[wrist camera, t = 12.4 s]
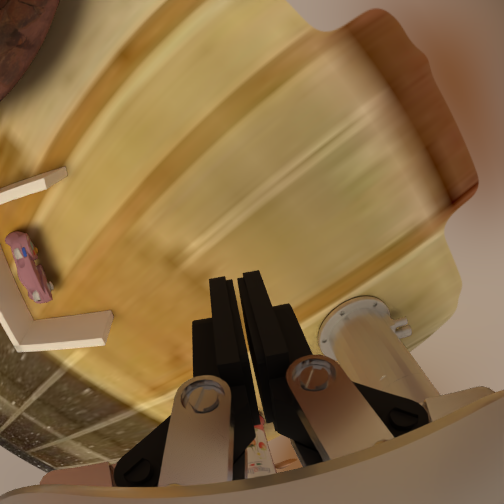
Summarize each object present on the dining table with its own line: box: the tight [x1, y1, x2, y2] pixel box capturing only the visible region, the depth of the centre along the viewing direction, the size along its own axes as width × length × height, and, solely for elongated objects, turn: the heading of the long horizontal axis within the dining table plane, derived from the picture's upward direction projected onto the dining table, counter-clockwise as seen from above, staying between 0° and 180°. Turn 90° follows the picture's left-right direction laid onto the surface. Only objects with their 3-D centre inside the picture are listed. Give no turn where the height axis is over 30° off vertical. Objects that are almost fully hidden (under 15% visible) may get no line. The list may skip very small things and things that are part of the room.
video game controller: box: [5, 231, 54, 303], centre depth 34 cm, size 10×5×7 cm, turn 8°
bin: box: [0, 167, 114, 352], centre depth 33 cm, size 15×21×6 cm
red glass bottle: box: [247, 416, 277, 478], centre depth 43 cm, size 7×7×28 cm
